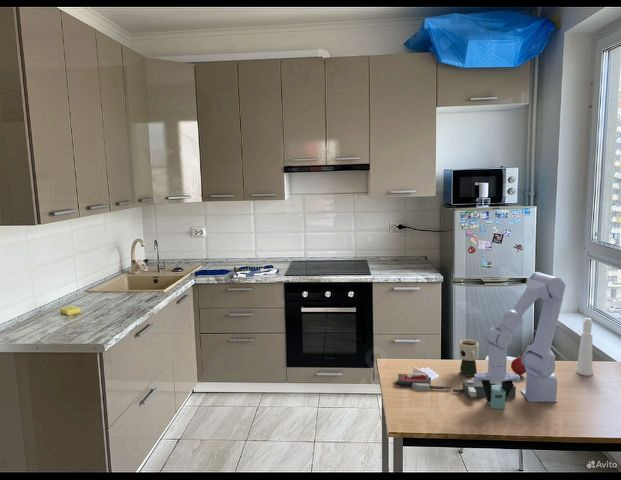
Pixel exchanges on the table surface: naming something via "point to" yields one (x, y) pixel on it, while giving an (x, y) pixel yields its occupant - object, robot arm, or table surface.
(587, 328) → the cosmetic bottle
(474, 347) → the character mug
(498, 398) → the charger
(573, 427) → the table surface
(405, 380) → the walkie-talkie
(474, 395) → the block
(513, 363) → the onion
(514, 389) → the power strip
